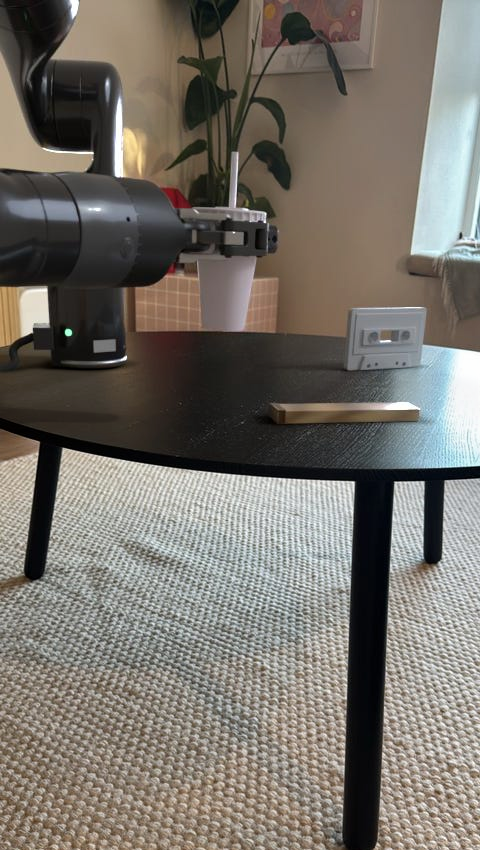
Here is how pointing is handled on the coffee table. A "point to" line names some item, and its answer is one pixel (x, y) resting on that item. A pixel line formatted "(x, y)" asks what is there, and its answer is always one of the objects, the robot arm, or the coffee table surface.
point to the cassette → (384, 354)
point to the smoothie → (227, 271)
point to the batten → (343, 412)
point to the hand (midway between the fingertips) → (242, 238)
